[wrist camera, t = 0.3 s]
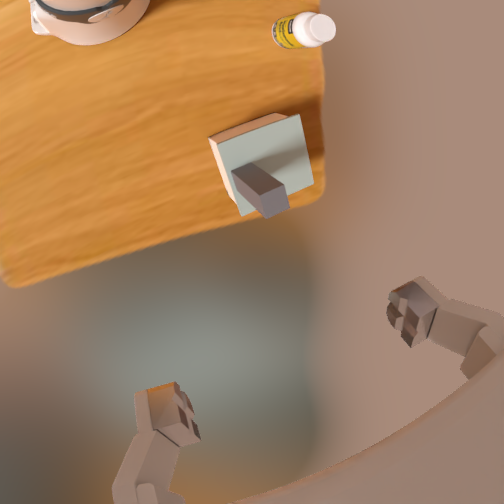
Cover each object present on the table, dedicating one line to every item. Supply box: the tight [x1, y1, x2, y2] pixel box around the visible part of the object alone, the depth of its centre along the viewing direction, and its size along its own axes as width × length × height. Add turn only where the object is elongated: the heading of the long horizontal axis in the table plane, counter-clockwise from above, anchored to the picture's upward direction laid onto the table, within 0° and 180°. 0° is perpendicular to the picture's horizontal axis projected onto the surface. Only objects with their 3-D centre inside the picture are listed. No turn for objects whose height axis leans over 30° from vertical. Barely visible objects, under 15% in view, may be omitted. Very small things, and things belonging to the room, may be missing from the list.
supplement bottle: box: [272, 12, 336, 49], centre depth 34 cm, size 5×5×10 cm
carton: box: [208, 113, 289, 204], centre depth 44 cm, size 11×10×6 cm
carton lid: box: [216, 114, 314, 219], centre depth 38 cm, size 12×11×10 cm
